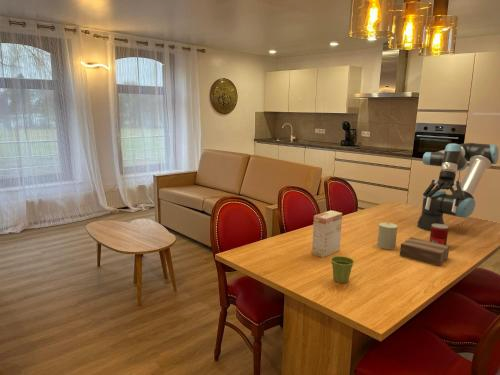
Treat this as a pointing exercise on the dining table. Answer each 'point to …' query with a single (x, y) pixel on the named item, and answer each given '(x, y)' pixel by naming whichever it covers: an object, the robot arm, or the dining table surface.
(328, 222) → the coffeecake box
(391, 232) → the can
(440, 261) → the walnut riser
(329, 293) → the dining table surface
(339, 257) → the plant pot
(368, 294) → the dining table surface
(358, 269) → the dining table surface
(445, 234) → the canned food
